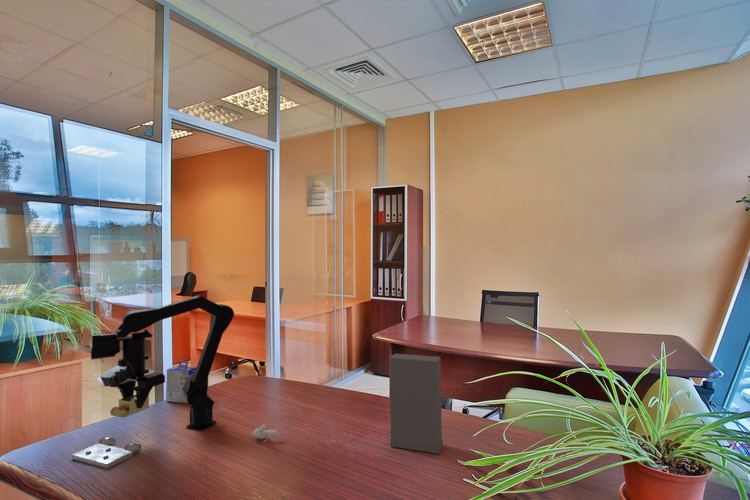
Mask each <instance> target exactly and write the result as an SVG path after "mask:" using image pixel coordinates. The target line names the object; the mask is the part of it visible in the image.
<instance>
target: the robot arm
mask: <svg viewBox="0 0 750 500" xmlns="http://www.w3.org/2000/svg"><path fill="white" fill-rule="evenodd" d="M198 309H200V310H202V311H204V312H205V313H208V314H210V319H209V331H208V334H207V337H206V340H205V342H204V346H203V349H202V351H201V353H200V357H199V360H198V363H197V366H196V367H197V368H196V370H195V373H194V374H193V375H192V377H191V378H190V377H186V381H185V385H184V386H183V388H182V390H183V395H184V397H185V399H186V400H187V402H188V403H187V404H189V406H190V410H189V424H187V425H186V429H192V430H197V431H203V430H205V429H207V428H209V427H211V426H213V425H214V424H216V423H217V420H214V419H213V410H214V409H213V407H214V404H215V400H213V398H212V397H211V396H210V395H209V394H208V389H209V375H210V372H211V370H212V367H213V365H214V361H215V358H216V355H217V353H218V352H217V351H218V350H219V349H218V348H219V346H220V342H221V341H222V340H221V339H222V338H223V336H224V335H223V334H224V333H225V332H226V330H227V329H228V328H229V326H230V325H231V322H232V321H233V319H234V317H235V311H234V309H233V308H232V307H231V306H229V305H226V304H218V303H216V302H214V301H212V300H210V299H208V298H206V297H205V296H202V295H195V296H193V297H190V298H187V299H182V300H180V301H179V300H178V301H176V302H173V303H170V304H169V303H168V304H165V305H161V306H158V307H154V308H145V309H136V310H130V311H128V312H125V314H124V315H123V317H122V319H121V322H122V323H121V324H120V325H119V327H118V328H117V329H116V330H115V331H114V333H106V334H105V333H104V334H97V333H96V334H93V335H91V347H90V349H91V350H90V354H91V355H90V360H91V361H92V360H94V361H95V360H99V359H100V360H101V359H108V358H115V357H116V355H118V354H119V353H120V352H121V342H122V358H119V359H118V361H117V365H116V366H114V367H112V368H110V369H108V370H107V371H105V372H104V373H103V374H101V375H100V379H101V382H102V384H103V386H104V387H110V388H117V390H119V392H120V394H121V396H122V398H125V397H128V396H130V395H133V394H136V397H137V406H138V409H140V408H142V407H143V405H144V403H145V401H146V399H147V396H148V395H149V396H150V392H151V391H152V390H153V388H154V387H156V386H159V385H161V384H164V383H166V375H165V374H164V373H163V372H161V373H160V372H156V371H155V372H154V371H153V372H151V373H149V372H150V369H149V368H146V360H149V359H150V356H149V355H147V354H146V339H148V338H149V339H150V338H153V336H154V335H153V334H152V332H149V330H148V329H147V328H149V327H151V326H152V325H154V324H156V323H157V322H160V321H162V320H166V319H168V318H173V317H175V316H179V315H181V314H185V313H189V312H192V311H196V310H198ZM142 330H143V331H142ZM128 335H129V336H128Z"/></svg>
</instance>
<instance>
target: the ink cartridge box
mask: <svg viewBox="0 0 750 500" xmlns="http://www.w3.org/2000/svg"><path fill="white" fill-rule="evenodd" d="M188 365H189V360H188V361H187V360H180V361H179V364H178V366H173V367H170V368H168V369H166V380H165V383H166V385H165V386H166V387H165V388H166V389H165V390H166V393H165V402H169V401H168V400H170V402H172V403H185V404H189V403H188V402H187V400H186V399H185V397H184V395H183V390H182V388H183V386H184V385H185V381H186V377H190V378H191V377H192V375H193V374H194V373H195V370H196V368H197V366H188ZM179 396H180V397H179Z"/></svg>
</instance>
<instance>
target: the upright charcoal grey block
mask: <svg viewBox="0 0 750 500" xmlns="http://www.w3.org/2000/svg"><path fill="white" fill-rule="evenodd" d="M441 365H442V364H441V356H433V355H432V356H431V355H421V354H420V355H419V354H408V353H407V354H406V353H394V354H392V355H391V356H390V357H389V397H390V401H389V402H390V403H389V404H390V407H389V408H390V441H389V442H390V443H389V445H390V447H391V448H399V449H407V450H410V451H412V450H413V451H419V452H426V453H431V454H434V455H439V454H440V453H441V451H442V447H443V444H444V439H443V436H442V435H443V432H442V431H443V430H442V427H443V426H442V425H443V424H442V379H441V378H442V375H441V374H442V372H441V367H442V366H441Z"/></svg>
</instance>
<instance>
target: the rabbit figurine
mask: <svg viewBox="0 0 750 500" xmlns="http://www.w3.org/2000/svg"><path fill="white" fill-rule="evenodd" d="M266 427H267V426H266V424H262V425H260V426H259V427H258V428H256V429H254V430H253V432H251V433H250V435H251V436H253V437H255V438H257V439H259V440H262V439H265V438H266V437H267V436H269V437H273V436H277V435H278V434H279V433H280V432H279V431H278V430H276V429H268V430H266ZM267 441H268V438H267V439H265V440H263V441H262V442H263V443H264V442H267Z"/></svg>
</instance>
